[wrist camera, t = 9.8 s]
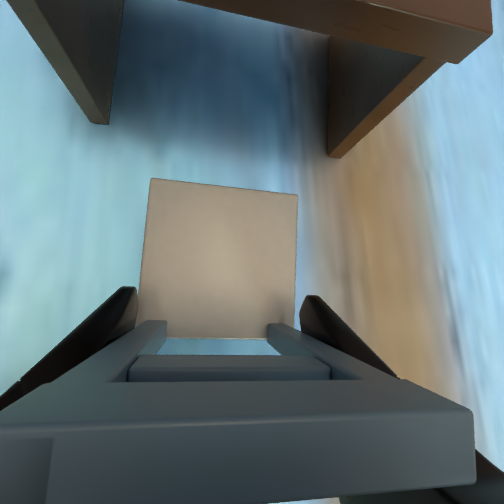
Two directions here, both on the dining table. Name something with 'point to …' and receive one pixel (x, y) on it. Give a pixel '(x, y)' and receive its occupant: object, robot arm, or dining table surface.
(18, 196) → the dining table surface
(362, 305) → the dining table surface
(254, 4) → the desk
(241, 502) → the chair
